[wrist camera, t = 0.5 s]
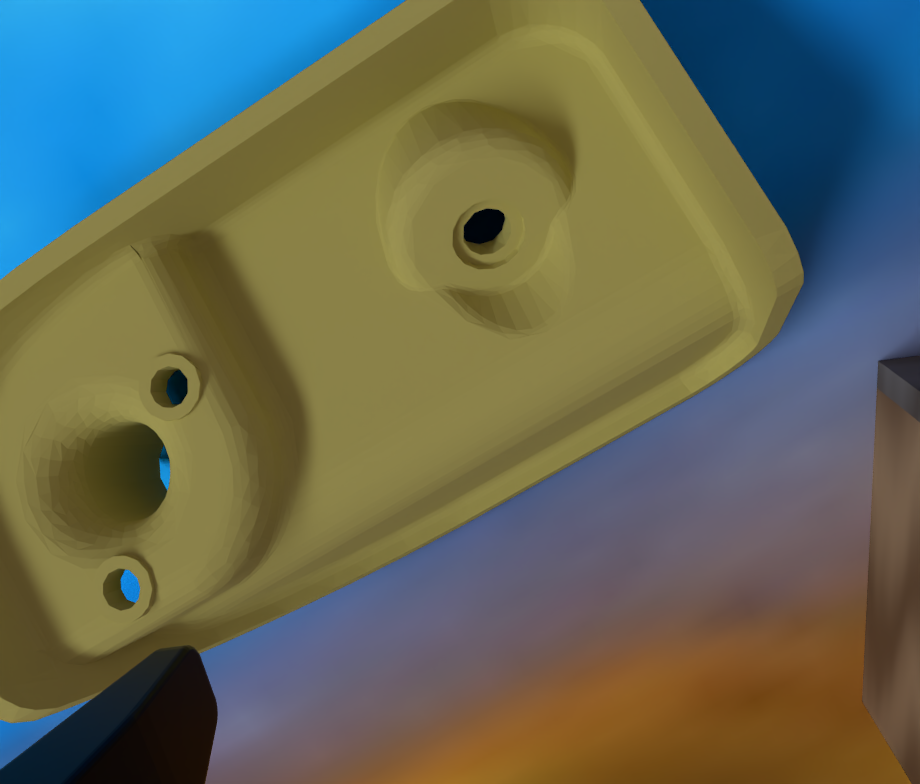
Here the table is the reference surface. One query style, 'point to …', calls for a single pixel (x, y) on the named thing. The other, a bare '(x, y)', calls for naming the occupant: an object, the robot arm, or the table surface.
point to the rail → (895, 565)
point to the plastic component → (363, 326)
